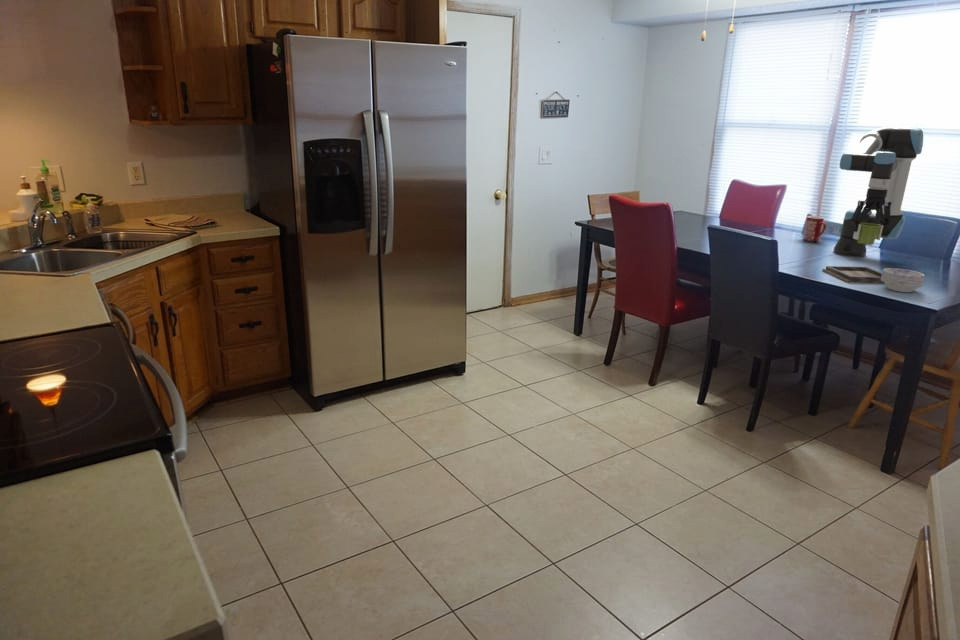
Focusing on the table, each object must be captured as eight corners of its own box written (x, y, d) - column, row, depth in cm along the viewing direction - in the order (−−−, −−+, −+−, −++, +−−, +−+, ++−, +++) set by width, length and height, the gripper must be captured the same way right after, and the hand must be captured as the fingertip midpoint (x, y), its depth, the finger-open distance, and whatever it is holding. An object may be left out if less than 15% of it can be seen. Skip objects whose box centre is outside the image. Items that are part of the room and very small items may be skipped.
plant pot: (849, 241, 289) (853, 222, 286) (871, 242, 288) (875, 223, 285) (858, 245, 280) (863, 225, 277) (881, 246, 279) (886, 226, 277)
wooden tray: (867, 271, 299) (868, 266, 298) (895, 283, 280) (896, 277, 280) (822, 270, 298) (823, 265, 297) (846, 282, 279) (848, 276, 279)
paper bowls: (904, 284, 278) (908, 267, 276) (929, 295, 264) (934, 276, 261) (870, 284, 278) (875, 266, 275) (893, 294, 263) (898, 276, 261)
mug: (798, 239, 371) (803, 215, 366) (812, 238, 373) (816, 215, 368) (814, 243, 359) (819, 219, 355) (827, 243, 361) (832, 219, 357)
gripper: (858, 188, 272) (847, 240, 280) (908, 190, 273) (895, 241, 281) (848, 186, 279) (837, 236, 287) (896, 187, 280) (884, 237, 288)
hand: (866, 239), depth 284 cm, fingers closed on plant pot, 9 cm apart
